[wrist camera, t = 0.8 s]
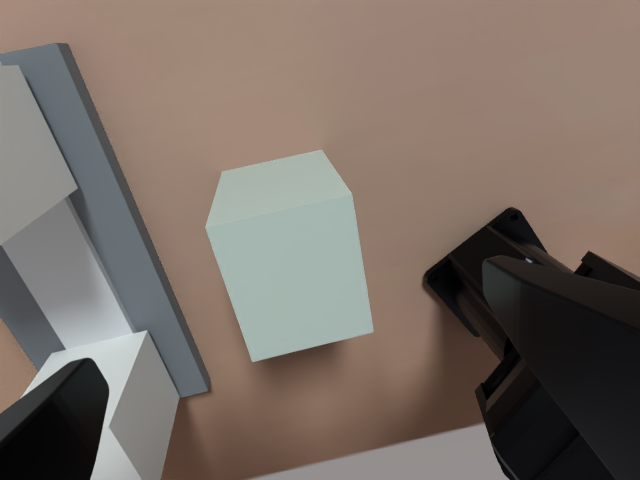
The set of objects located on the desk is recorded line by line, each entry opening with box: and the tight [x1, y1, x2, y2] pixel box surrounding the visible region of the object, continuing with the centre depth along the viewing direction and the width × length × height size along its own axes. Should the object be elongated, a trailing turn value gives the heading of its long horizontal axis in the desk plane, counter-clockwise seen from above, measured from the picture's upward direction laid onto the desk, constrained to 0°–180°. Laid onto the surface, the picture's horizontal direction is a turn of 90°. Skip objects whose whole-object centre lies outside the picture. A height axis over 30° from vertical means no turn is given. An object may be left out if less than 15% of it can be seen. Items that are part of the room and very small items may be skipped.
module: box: [205, 150, 374, 362], centre depth 17 cm, size 6×5×7 cm
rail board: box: [0, 43, 210, 480], centre depth 17 cm, size 19×8×7 cm, turn 11°
